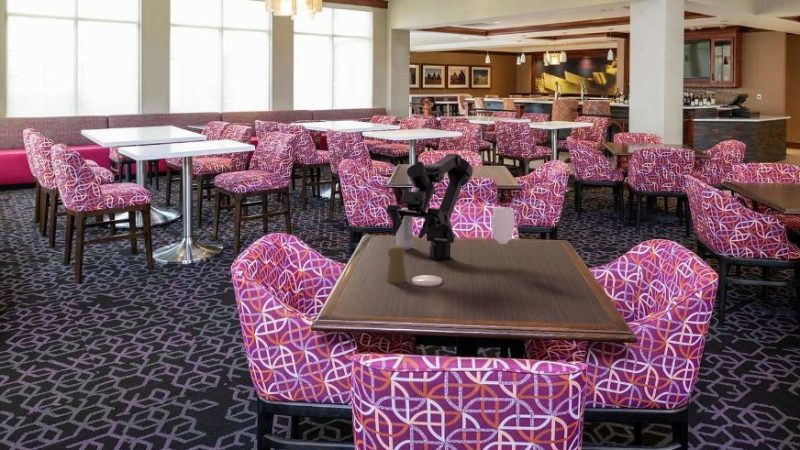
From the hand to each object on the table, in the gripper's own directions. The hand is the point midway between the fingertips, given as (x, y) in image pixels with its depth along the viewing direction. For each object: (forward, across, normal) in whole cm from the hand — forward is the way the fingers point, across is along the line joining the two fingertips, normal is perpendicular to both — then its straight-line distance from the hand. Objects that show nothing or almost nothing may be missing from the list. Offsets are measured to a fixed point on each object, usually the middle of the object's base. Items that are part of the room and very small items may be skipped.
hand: (406, 236), depth 210 cm
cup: (-5, +25, +23) cm, 34 cm away
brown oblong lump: (+14, 0, +5) cm, 15 cm away
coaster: (+12, +9, +6) cm, 16 cm away
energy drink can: (-15, -19, +34) cm, 41 cm away
